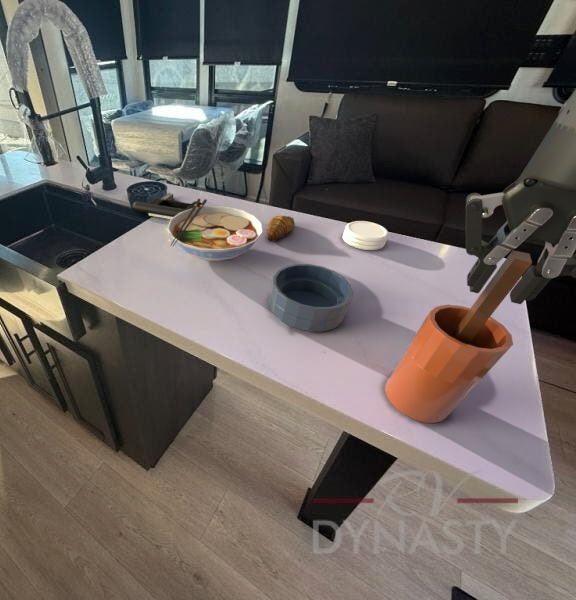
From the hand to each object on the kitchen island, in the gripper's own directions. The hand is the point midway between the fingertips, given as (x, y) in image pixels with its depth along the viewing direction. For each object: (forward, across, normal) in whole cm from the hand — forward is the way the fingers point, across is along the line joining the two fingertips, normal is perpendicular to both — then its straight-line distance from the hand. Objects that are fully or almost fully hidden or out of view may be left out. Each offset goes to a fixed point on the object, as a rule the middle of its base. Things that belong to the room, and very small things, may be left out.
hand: (494, 293), depth 36 cm
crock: (+20, 0, 0) cm, 20 cm away
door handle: (+20, -70, +38) cm, 82 cm away
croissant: (+20, -35, +40) cm, 57 cm away
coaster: (+20, -15, +46) cm, 52 cm away
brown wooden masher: (+11, 0, 0) cm, 11 cm away
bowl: (+20, -20, +12) cm, 31 cm away
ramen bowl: (+20, -46, +22) cm, 55 cm away
